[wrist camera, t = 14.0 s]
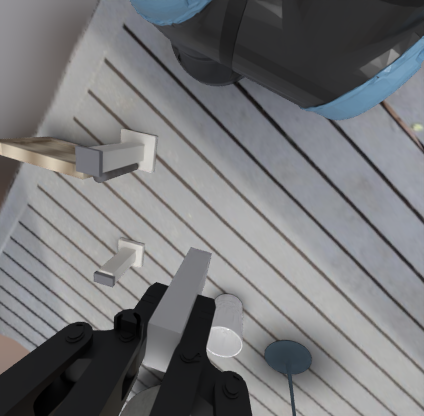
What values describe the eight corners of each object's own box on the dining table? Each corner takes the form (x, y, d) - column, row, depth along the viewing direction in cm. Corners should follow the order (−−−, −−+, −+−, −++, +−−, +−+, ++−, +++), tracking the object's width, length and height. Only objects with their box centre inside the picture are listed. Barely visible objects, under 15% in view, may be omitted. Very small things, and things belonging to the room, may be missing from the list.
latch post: (121, 237, 53) (89, 263, 43) (145, 244, 53) (118, 272, 43) (120, 258, 55) (89, 287, 45) (142, 265, 55) (116, 296, 45)
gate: (139, 161, 44) (103, 172, 34) (137, 171, 45) (102, 185, 35) (49, 136, 46) (-10, 139, 36) (49, 146, 47) (-9, 152, 37)
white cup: (216, 286, 53) (207, 321, 43) (249, 298, 52) (247, 335, 43) (208, 311, 56) (198, 348, 46) (239, 322, 55) (235, 362, 46)
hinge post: (124, 128, 44) (63, 130, 31) (157, 136, 44) (111, 141, 30) (122, 164, 47) (65, 179, 33) (154, 171, 46) (109, 191, 32)
